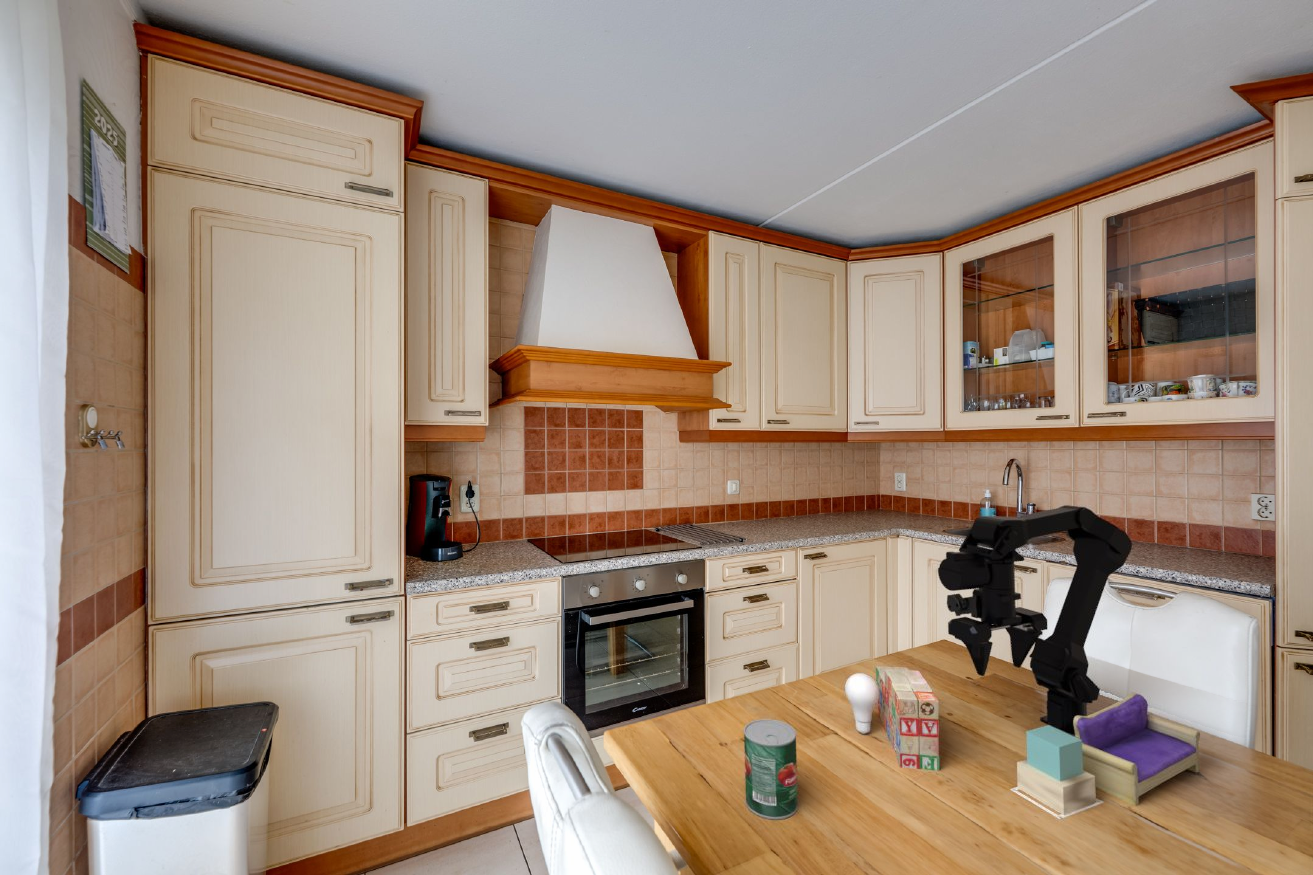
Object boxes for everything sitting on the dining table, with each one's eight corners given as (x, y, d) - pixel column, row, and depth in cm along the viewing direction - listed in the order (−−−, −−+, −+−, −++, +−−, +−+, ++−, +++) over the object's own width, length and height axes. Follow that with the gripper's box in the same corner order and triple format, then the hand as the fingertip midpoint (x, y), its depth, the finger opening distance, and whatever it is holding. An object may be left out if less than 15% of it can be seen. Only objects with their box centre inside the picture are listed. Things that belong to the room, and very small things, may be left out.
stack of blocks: (876, 711, 116) (875, 650, 116) (909, 713, 114) (908, 652, 114) (900, 771, 95) (898, 697, 95) (940, 774, 93) (938, 699, 94)
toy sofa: (1134, 812, 83) (1132, 742, 83) (1069, 781, 91) (1067, 717, 91) (1203, 773, 92) (1201, 710, 92) (1139, 748, 100) (1137, 689, 100)
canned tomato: (742, 787, 91) (740, 718, 91) (792, 787, 91) (790, 718, 91) (749, 820, 83) (747, 744, 83) (803, 820, 83) (801, 744, 83)
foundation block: (1048, 777, 91) (1047, 752, 91) (1095, 803, 84) (1095, 775, 84) (1017, 788, 88) (1016, 762, 88) (1063, 815, 82) (1063, 787, 82)
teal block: (1049, 756, 90) (1048, 724, 90) (1082, 773, 85) (1081, 740, 85) (1027, 763, 88) (1026, 731, 88) (1060, 781, 83) (1059, 747, 83)
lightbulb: (845, 738, 105) (843, 678, 105) (847, 722, 111) (845, 666, 111) (880, 743, 103) (878, 683, 103) (880, 727, 109) (879, 670, 109)
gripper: (993, 571, 116) (995, 648, 116) (923, 581, 109) (925, 663, 109) (1048, 584, 105) (1050, 668, 105) (974, 596, 99) (976, 686, 98)
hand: (999, 670), depth 105 cm, fingers open, 9 cm apart
